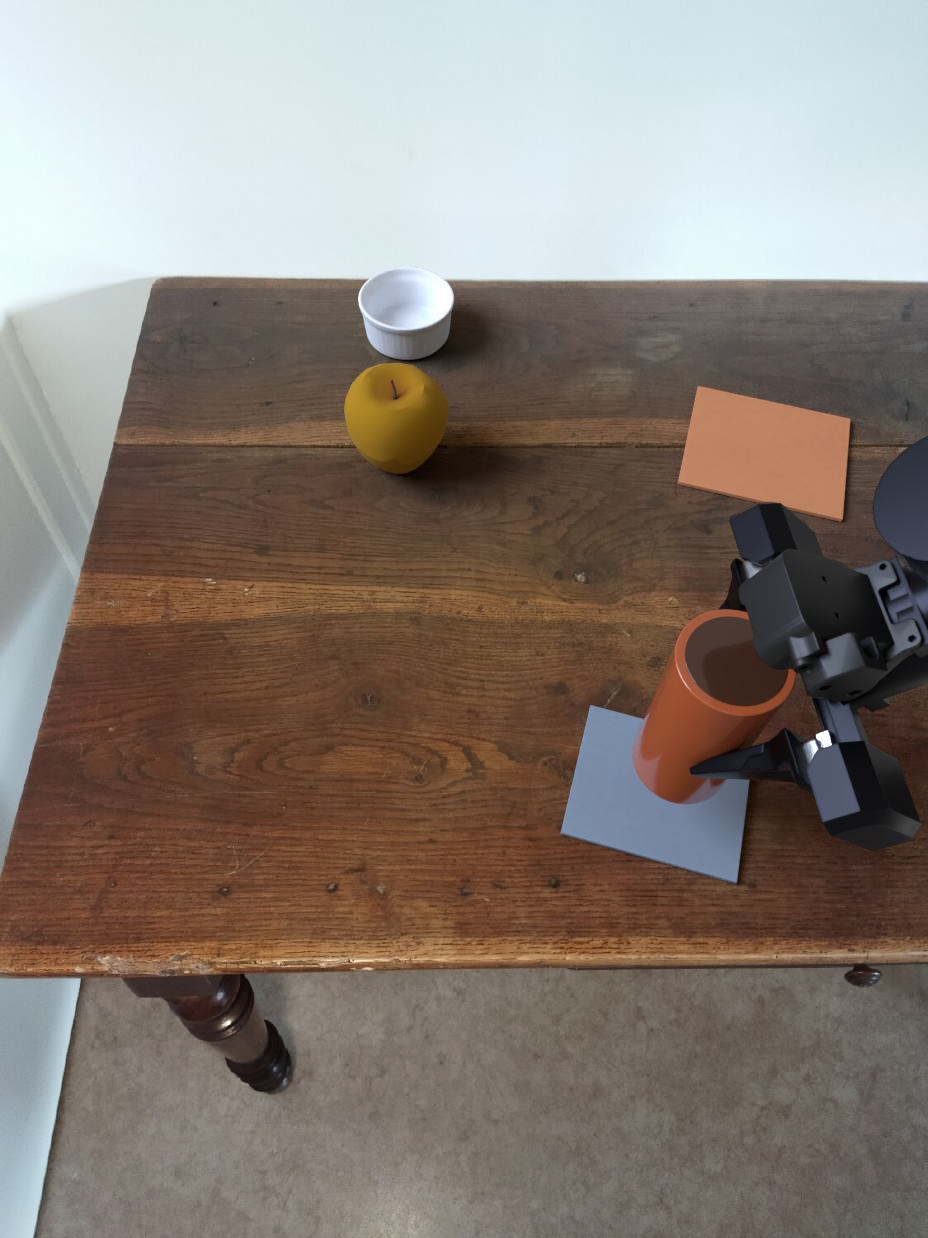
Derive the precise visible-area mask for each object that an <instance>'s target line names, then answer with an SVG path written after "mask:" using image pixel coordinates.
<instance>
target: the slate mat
mask: <svg viewBox="0 0 928 1238" xmlns="http://www.w3.org/2000/svg"><path fill="white" fill-rule="evenodd" d="M586 718H587V719H586V722H585V726H584V731H583V736H582V739H581V743H580V748H579V752H578V757H577V761H576V765H575V769H574V774H573V778H572V781H571V786H570V791H569V795H568V800H567V803H566V808H565V813H564V816H563V821H562V826H561V830H560V835H562V836H565V837H568V838H571V839H575V840H580V841H583V842H587V843H589V844H593V845H597V846H599V847H604V848H607V849H611V850H614V851H618V852H621V853H625V854H628V855H632V856H636V857H638V858H639V857H640V858H641V859H642V858H643V859H646V860H650V861H654V862H655V863H656V862H657V863H659V864H660V863H661V864H664V865H668V866H670V867H673V868H677V869H682V870H685V871H688V872H692V873H695V874H699V875H702V876H707V877H708V878H709V877H710V878H713V879H716V880H720V881H724V882H726V883H731V884H735V885H736V884H737V883H738V880H739V879H738V877H739V870H740V861H741V854H742V847H743V846H742V844H743V837H744V830H745V829H744V828H745V823H746V822H745V820H746V814H747V813H746V812H747V805H748V795H749V789H750V781H751V780H742V779H728V780H727V781H726V782H725V784H724V785H723V786H722V788H721V789H720V790H719V791H718V792H717V793H716V794H715V795H714V796H712V797H711V798H709V799H707V800H705V801H703V802H700V803H695V804H677V803H672V802H669V801H666V800H664V799H662V798H660V797H658V796H657V795H655V794H654V793H652V792H651V791H650V790H649V789H648V788H647V787H646V786H645V785H644V784H643V783H642V781H641V780H640V778H639V777H638V775H637V773H636V771H635V768H634V765H633V760H632V746H633V742H634V739H635V737H636V735H637V732H638V730H639V728H640V725H641V723H642V721H643V718H641V717H638V716H633V715H630V714H627V713H622V712H618V711H615V710H611V709H608V708H605V707H604V708H603V707H600V706H596V705H592V704H590V705H589V708H588V713H587V717H586Z"/></svg>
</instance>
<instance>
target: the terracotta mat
mask: <svg viewBox="0 0 928 1238" xmlns="http://www.w3.org/2000/svg"><path fill="white" fill-rule="evenodd" d="M694 397H695V398H694V402H693V406H692V412H691V417H690V421H689V426H688V430H687V431H688V432H687V436H686V441H685V446H684V451H683V456H682V460H681V465H680V470H679V474H678V475H679V476H678V480H677V485H679V486H683V487H686V488H690V489H691V488H692V489H696V490H701V491H703V492H704V491H705V492H709V493H714V494H718V495H721V496H727V497H731V498H735V499H740V500H743V501H747V502H748V501H749V502H752V503H757V502H778V503H781V504H783V505H784V506H785V507H786V508H787V509H788V510H789V511H791V512H796V513H800V514H804V515H809V516H812V517H818V518H822V519H827V520H831V521H835V522H840V523H842V521H843V520H844V507H845V496H846V486H847V485H846V484H847V471H848V457H849V443H850V432H851V418H849V417H844V416H841V415H835V414H831V413H826V412H821V411H816V410H812V409H807V408H802V407H798V406H794V405H788V404H784V403H781V402H780V403H779V402H775V401H770V400H765V399H761V398H756V397H751V396H749V395H742V394H738V393H733V392H729V391H724V390H719V389H715V388H710V387H706V386H702V385H701V386H700V385H698V386H697V388H696V393H695V396H694Z"/></svg>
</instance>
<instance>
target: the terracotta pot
mask: <svg viewBox="0 0 928 1238" xmlns="http://www.w3.org/2000/svg"><path fill="white" fill-rule="evenodd" d="M753 636H754V633H753V630H752V627H751V623H750V620H749V617H748V614H747V612H744V611H739V610H730V609H723V610H718V609H716V610H710V611H707V612H704V613H702V614H700V615H697V616H696V617H694V618H692V619H691V620H690V621H689V622H687V624H686V625H685V626H684V627H683V629H682V630H681V632H680V633H679V634H678V637H677V639H676V641H675V644H674V646H673V649H672V651H671V653H670V656H669V657H668V660H667V662H666V664H667V665H666V664H665V665H666V667H665V666H664V669H663V672H662V673H661V676H660V679H659V681H658V683H657V686H656V688H655V691H654V693H653V695H652V697H651V699H650V702H649V705H648V707H647V709H646V712H645V713H644V716H643V718H642V719H643V721H642V723H641V725H640V728H639V730H638V732H637V735H636V737H635V739H634V742H633V746H632V760H633V765H634V768H635V771H636V773H637V775H638V777H639V778H640V780H641V781H642V783H643V784H644V785H645V786H646V787H647V788H648V789H649V790H650V791H651V792H652V793H654V794H655V795H657V796H658V797H660V798H662V799H664V800H666V801H669V802H672V803H677V804H695V803H700V802H703V801H705V800H707V799H709V798H711V797H712V796H714V795H715V794H716V793H717V792H718V791H719V790H720V789H721V788H722V786H723V785H724V784H725V782H726V781H727V780H728V779H714V778H698V777H695V776H692V775H691V774H690V771H689V768H690V767H692V766H694V765H696V764H699V763H701V762H703V761H705V760H707V759H710V758H713V757H717V756H720V755H724V754H727V753H730V752H734V751H737V750H741V749H744V748H748V747H751V746H754V744H755V743H756V742H757V740H758V739H759V737H760V736H761V734H763V732H764V731H765V730H766V728H767V726H768V725H769V724H770V723H771V721H772V720H773V718H774V717H775V716H776V715H777V713H778V712H779V710H780V709H781V707H782V706H783V705H784V704H785V703H786V701H787V700H788V698H789V697H790V695H791V694H792V691H793V690H794V687H795V685H796V680H797V675H798V673H796V672H794V670H792V669H785V670H778V669H774V668H771V667H769V666H768V665H766V664H765V663H764V662H763V661H762V660H761V659H760V658H759V656H758V655H757V653H756V651H755V648H754V645H753V641H752V640H753Z"/></svg>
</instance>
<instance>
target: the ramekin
mask: <svg viewBox="0 0 928 1238" xmlns="http://www.w3.org/2000/svg"><path fill="white" fill-rule="evenodd" d="M357 298H358V299H357V300H358V301H357V302H358V306H359V310H360V313H361V314H362V319H363V322H364V329H365V333H366V337H367V340H368V341H369V344H370V345H371V346H372V347H373V348H374V349H375V350H376V351H377V352H379V353H380V354H382V355H384V356H386V357H389V358H392V359H395V360H402V361H411V360H413V361H414V360H418V359H419V360H420V359H422V358H426V357H429V356H431V355H432V354H433V355H434V353H436V352H437V351H438V350H440V349H441V348H442V347H443V346H444V345H445V344H446V342H447V340H448V339H449V335H450V329H451V320H452V311H453V308H454V303H455V294H454V290H453V288H452V286H451V285H450V284H449V282H448V281H447V280H446V279H445V278H444V277H442V276H441V275H439V274H437V272H433V271H431V270H429V269H426V268H422V267H416V266H399V267H398V266H397V267H392V268H387V269H384V270H381V271H380V272H378V273H376V274H374V275H372V276H371V277H370V278H369V279H367V280H366V281H365V282H364V283H363V285H362V286H361V288H360V289H359V292H358V297H357Z"/></svg>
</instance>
